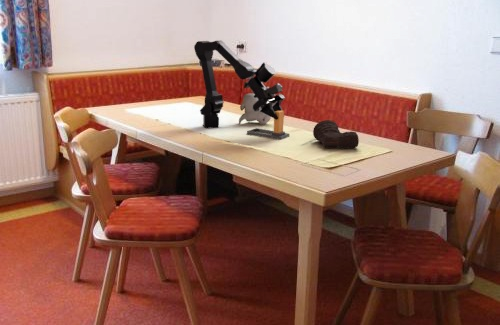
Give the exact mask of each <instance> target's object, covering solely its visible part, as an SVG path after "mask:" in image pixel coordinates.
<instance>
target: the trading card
mask: <svg viewBox="0 0 500 325" xmlns="http://www.w3.org/2000/svg"><path fill="white" fill-rule="evenodd" d="M307 162H308V161H306V162H304V163H300V165H301V166H305V167H308V168H313V169H316V170H320V171H323V172H327V173H331V174H335V175H338V176H341V177H346V176H348V175H351V174H354V173H356V172H358V171H361V168H356V167H353V166H350V165H346V164H342V166H344V167H347V168H348V167H349V168H352V169H355V170H354V171H351V172H349V173H347V174H341V173H340V174H339V173H335V172H332V171H329V170H325V169H323V168H322V169H321V168H318V167H315V166H310V165H307V164H308V163H307Z"/></svg>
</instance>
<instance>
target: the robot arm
mask: <svg viewBox="0 0 500 325" xmlns="http://www.w3.org/2000/svg"><path fill="white" fill-rule="evenodd" d="M193 48H194V52H195V55H196V57H197V58H198V60H199V62H200V64H201V71H202V76H203V81H204V87H205V93H206V94H205V98H204V105H203V106H202V107H201V108H200V109H199V110H200V111H199V112H200V114H201V115H202V117H203V118H202V120H203V121H202V122H203V124H202V126H203V127H204V129H214V128H215V129H216V128H217V129H218V128H219V126H220V117H219V114H220V113H221V110H222V109H223V107H224V103H225V102H224V98H223V97H224V96H223V94H222V93H221V94H219V92H218V90H217V84H216V78H215V73H214V72H215V71H214V68H213V62H212V61H213V60H212V59H213V56H214V51H216V52H218V54H219V55H221V57H222V58H223V59H224V60H225V61H226V62H228V63H229V65H230V66H232V67H233V69H234V70H233V71H234V73H235V75H237V77H238V78H239V79H240V80H247V81H244V82H243V84H244V85H243V88H244V89H250V90H251V92H252V93H253V94H255V95H254V98H258V101H257V102H256V103H255V104H254V105H253V110H254V111H255V112H257V111H259V108H260V107H261V110H260V112H262V113H264V114H266V115H268V116H270V117H271V118H272V119H273V120H274V119H276V120H277V119H278V116H277V115H276V113H275V111H279V110H280V111H283V109H282V102H283V101H284V100H286V97H285V96H284V95H283V94H282V92H283V88H284V87H283V86H282V85H281V84H280V83H279V82H278V83H276V84H275V83H274V85H273V86H265V85H264V83H265V84H266V83H268V82H269V81H270V80H271V79H272V78H273V77H274V76H275V75H276V69H275V68H274V67H273V66H272V65H270V64H269V63H267V62H262V63H261V64H260V66H259V67H258V68H255V67H254V66H253V65H252V64H251V63H249V62H247V61H245V60H243V59H241V58H240V57H239V56H238V55H237V54H236V53H235V52H234V51H233V50H232V49H231V48H230V47H229V46H228V45H227V44H226V43H225V42H224V41H223V40H213V41H209V40H202V41H200V40H198V41H196V42H195V44H194V47H193ZM280 93H281V94H280ZM219 129H220V128H219Z"/></svg>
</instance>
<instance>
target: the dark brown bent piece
mask: <svg viewBox="0 0 500 325" xmlns="http://www.w3.org/2000/svg"><path fill="white" fill-rule="evenodd" d="M312 134H313V137H314V139H315V140H317V141H318V142H320V144H321V145H323V147H324V148H328V149H333V148H334V149H335V148H343V149H349V148H350V149H356V148H357V147H358V146H359V142H360V140H359V136H358V133H357V132H356V131H344V132H341V131H340V129H339V125H338V124H337V123H336V122H335V121H334V120H331V119H327V120H324V119H323V120H321V121H319V122H318V123H316V124H315V125H314V127H313V131H312Z"/></svg>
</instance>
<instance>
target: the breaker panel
mask: <svg viewBox="0 0 500 325" xmlns="http://www.w3.org/2000/svg"><path fill="white" fill-rule="evenodd" d="M272 132H274V130H270V129H263V128H257V127H255V128H253V129H250V130H247V131H246V136H258V137H259V138H261V137H264V138H265V137H266V138H269V139H272V140H274V141H278V140H283V139H287V138H288V137H290V133H286V132H285V134H284V135H282V136H276V135H272Z"/></svg>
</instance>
